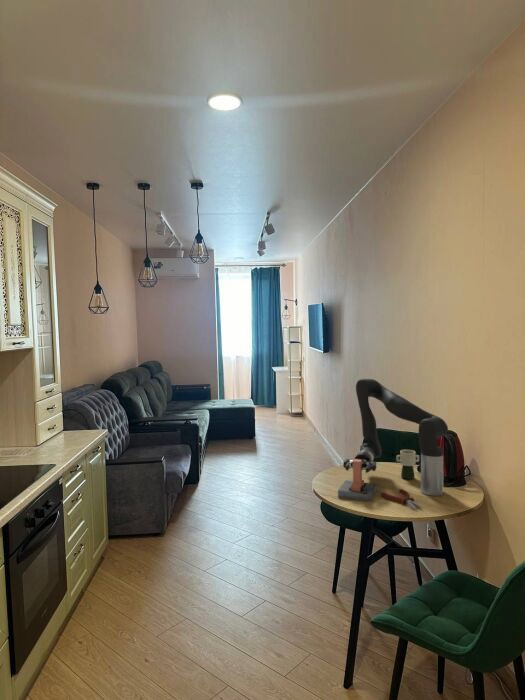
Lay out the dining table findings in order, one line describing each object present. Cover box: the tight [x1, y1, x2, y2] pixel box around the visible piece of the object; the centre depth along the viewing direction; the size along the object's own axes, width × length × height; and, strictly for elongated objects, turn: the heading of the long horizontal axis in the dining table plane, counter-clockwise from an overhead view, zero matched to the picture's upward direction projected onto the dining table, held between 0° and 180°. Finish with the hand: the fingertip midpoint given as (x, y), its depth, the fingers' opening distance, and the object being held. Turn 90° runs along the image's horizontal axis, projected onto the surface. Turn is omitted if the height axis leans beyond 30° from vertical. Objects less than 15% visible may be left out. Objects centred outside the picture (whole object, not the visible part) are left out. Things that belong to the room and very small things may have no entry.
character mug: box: [396, 449, 420, 480], centre depth 223 cm, size 11×7×13 cm, turn 87°
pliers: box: [380, 488, 424, 511], centre depth 193 cm, size 12×20×3 cm, turn 18°
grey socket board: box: [337, 479, 377, 502], centre depth 203 cm, size 14×14×3 cm
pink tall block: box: [351, 458, 365, 492], centre depth 203 cm, size 4×9×15 cm, turn 156°
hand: (356, 469), depth 201 cm, fingers open, 8 cm apart
